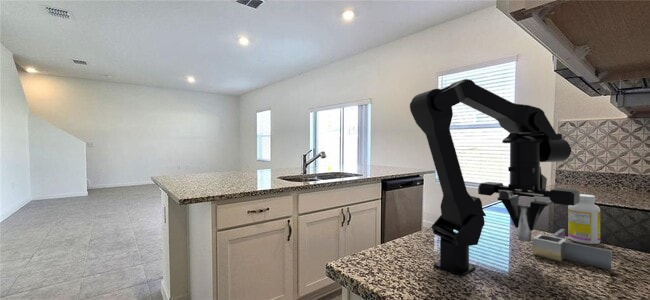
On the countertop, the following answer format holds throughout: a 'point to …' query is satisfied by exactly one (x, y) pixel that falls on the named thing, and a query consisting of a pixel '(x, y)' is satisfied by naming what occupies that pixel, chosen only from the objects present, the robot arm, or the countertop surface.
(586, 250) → the hinge
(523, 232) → the hinge pin
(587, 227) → the supplement bottle
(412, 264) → the countertop surface
